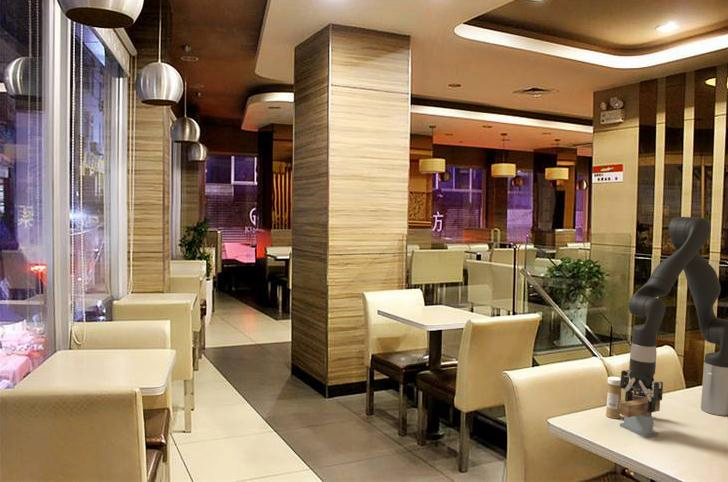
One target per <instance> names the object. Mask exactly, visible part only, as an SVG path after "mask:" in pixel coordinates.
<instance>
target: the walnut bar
mask: <svg viewBox="0 0 728 482" xmlns="http://www.w3.org/2000/svg"><path fill="white" fill-rule="evenodd" d="M648 401H649V400H648V398H643V399H638V400H633V401H628V402H626V401H623V402H622V401H621V403H620V416H623V417H624V416H626V417H633V416H637V415H642V414H647V413H649V412H647V407H648ZM660 406H661V401H656V405H655V411H654V412H653V413H656V412H659V411H660V409H661V407H660Z"/></svg>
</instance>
